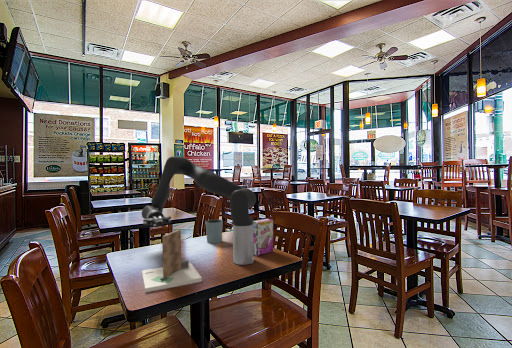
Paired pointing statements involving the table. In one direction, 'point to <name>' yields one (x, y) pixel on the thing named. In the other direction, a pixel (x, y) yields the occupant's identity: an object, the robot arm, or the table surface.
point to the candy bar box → (263, 236)
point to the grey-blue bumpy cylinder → (214, 231)
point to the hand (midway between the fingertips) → (159, 223)
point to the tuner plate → (169, 278)
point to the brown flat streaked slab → (172, 254)
